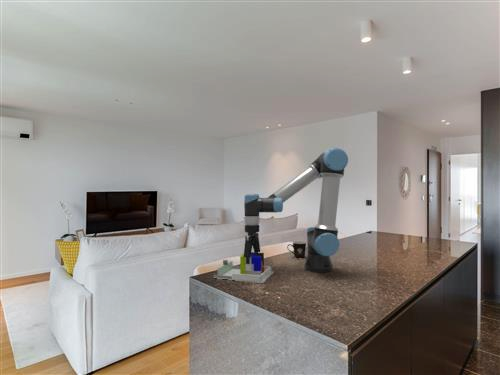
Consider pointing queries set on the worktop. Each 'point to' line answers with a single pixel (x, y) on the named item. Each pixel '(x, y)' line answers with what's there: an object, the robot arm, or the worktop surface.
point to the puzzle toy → (253, 264)
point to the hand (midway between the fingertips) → (252, 267)
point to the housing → (246, 275)
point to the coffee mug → (298, 249)
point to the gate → (225, 267)
